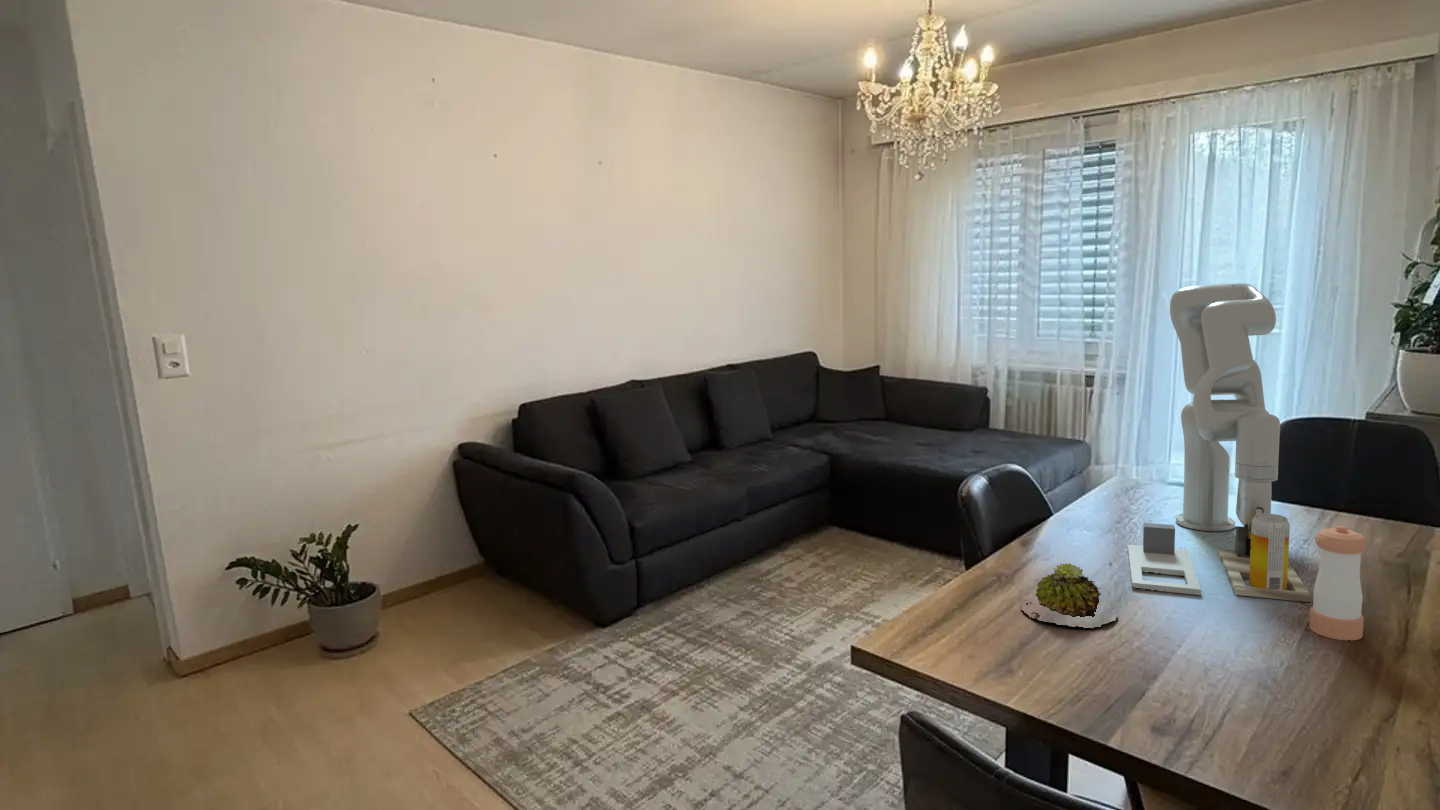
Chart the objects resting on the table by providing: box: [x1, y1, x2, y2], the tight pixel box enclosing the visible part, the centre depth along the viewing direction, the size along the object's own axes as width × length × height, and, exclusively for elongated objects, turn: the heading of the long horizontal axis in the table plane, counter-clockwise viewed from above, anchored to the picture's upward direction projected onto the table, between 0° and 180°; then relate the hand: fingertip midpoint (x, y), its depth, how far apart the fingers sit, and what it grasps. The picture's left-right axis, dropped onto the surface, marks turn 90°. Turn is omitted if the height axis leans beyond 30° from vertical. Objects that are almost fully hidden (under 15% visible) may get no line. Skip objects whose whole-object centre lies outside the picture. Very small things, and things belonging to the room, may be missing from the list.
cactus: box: [1035, 562, 1108, 625], centre depth 146 cm, size 17×16×10 cm
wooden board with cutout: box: [1217, 525, 1312, 603], centre depth 156 cm, size 24×12×7 cm, turn 154°
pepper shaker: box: [1308, 525, 1368, 641], centre depth 131 cm, size 7×7×19 cm
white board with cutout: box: [1127, 522, 1202, 596], centre depth 163 cm, size 24×12×7 cm, turn 154°
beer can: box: [1248, 513, 1291, 590], centre depth 150 cm, size 6×6×15 cm
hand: (1252, 552), depth 165 cm, fingers closed on wooden board with cutout, 3 cm apart
